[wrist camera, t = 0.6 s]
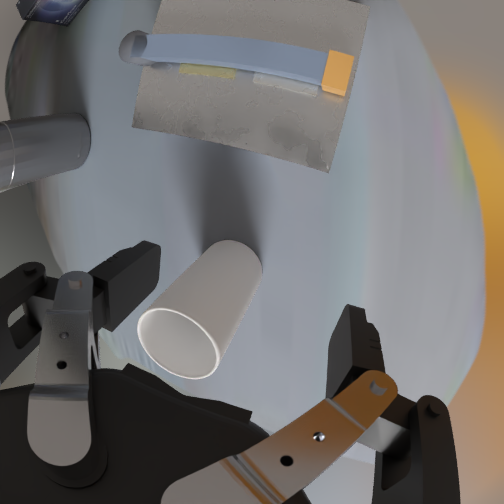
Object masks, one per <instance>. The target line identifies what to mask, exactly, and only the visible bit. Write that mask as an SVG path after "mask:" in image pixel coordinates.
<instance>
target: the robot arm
mask: <svg viewBox="0 0 504 504" xmlns="http://www.w3.org/2000/svg"><path fill="white" fill-rule="evenodd" d="M89 149H90V131H89V127H88V125H87V122H86V121H85V119H84V118H83V117H82V116H81V115H79V114H77V113H69V114H56V115H45V116H36V117H28V118H21V119H14V120H8V121H2V122H0V192H3V191H5V190H8V189H11V188H14V187H17V186H20V185H23V184H26V183H29V182H32V181H35V180H39V179H42V178H45V177H49V176H52V175H55V174H59V173H63V172H66V171H70V170H74V169H77V168H79V167H80V166H81V165H82V164H83V163H84V162H85V160H86V158H87V156H88V153H89ZM160 257H161V247H160V246H159V245H157V244H154V243H151V242H148V241H145V240H144V241H142V242H140V243H139V244H137V245H136V246H134V247H133V248H131V247H130V248H127V249H123V250H120V251H119V252H117V253H116V254H114V255H113V256H112V257H110V258H108V259H107V260H106V261H104V262H102V263H101V264H99V265H98V266H96V267H95V268H93V269H92V270H90V271H89V272H88V273H86V272H83V271H71V272H68V273H65V274H64V275H62V276H61V277H60V278H59V279H57V278H52V277H47V276H46V270H45V266H44V265H43V264H41V263H38V262H28V263H25V264H22V265H20V266H19V267H17V268H16V269H14V270H13V271H11V272H10V273H8V274H7V275H5V276H4V277H2V278H1V279H0V385H1V384H2V383H3V382H4V380H5V379H6V378H7V377H8V376H9V375H10V374H11V373H12V372H13V371H14V370H15V369H16V368H17V367H18V366H19V364H20V363H21V362H22V361H23V360H24V359H25V358H26V357H27V356H28V355H29V354H30V353H31V352H32V351H33V350H34V349H35V348H36V347H37V346H38V345H39V351H38V358H37V366H36V375H35V383H33V384H28V385H24V386H19V387H14V388H9V389H4V390H0V504H311V502H310V500H309V499H308V497H307V495H306V494H305V492H304V490H303V489H304V488H305V487H306V486H308V485H309V484H310V483H311V482H312V481H314V480H315V479H316V478H317V477H319V476H320V475H321V474H322V473H323V472H324V471H325V470H326V469H328V468H329V467H330V466H331V465H332V464H333V463H334V462H335V461H337V460H338V459H339V458H340V457H341V456H342V455H343V454H344V453H345V452H346V451H347V450H348V449H349V448H350V447H351V446H352V445H354V444H355V443H356V442H359V443H361V444H363V445H365V446H367V447H369V448H372V449H374V450H376V457H375V473H374V486H373V497H372V504H460V489H459V478H458V467H457V459H456V451H455V445H454V439H453V432H452V427H451V421H450V417H449V412H448V409H447V407H446V405H445V404H444V403H443V402H442V401H441V400H440V399H438V398H436V397H434V396H431V395H425V396H422V397H421V398H420V399H419V400H418V401H417V402H414V401H411V400H409V399H407V398H405V397H403V396H401V395H399V394H398V388H397V385H396V383H395V382H394V380H393V379H392V378H391V377H390V376H389V375H387V374H386V373H385V367H384V360H383V354H382V351H381V349H382V348H381V343H380V337H379V333H378V331H377V330H376V328H375V327H374V325H373V324H372V323H368V322H367V320H366V314H365V309H363V308H360V307H356V306H353V305H349V304H347V305H346V306H345V308H344V310H343V312H342V314H341V316H340V319H339V321H338V323H337V325H336V327H335V329H334V331H333V333H332V336H331V339H330V342H329V348H328V368H327V384H326V398H325V399H324V400H322V401H321V402H320V403H318V404H317V405H316V406H314V407H313V408H311V409H310V410H309V411H307V412H306V413H304V414H303V415H301V416H300V417H299V418H297V419H296V420H294V421H293V422H291V423H290V424H288V425H287V426H285V427H284V428H282V429H280V430H279V431H277V432H276V433H274V434H273V435H271V436H269V434H268V433H267V432H265V431H264V430H263V429H262V428H261V427H259V426H258V425H256V424H255V423H253V422H251V421H250V418H251V415H252V411H249V410H246V409H243V408H239V407H236V406H233V405H230V404H227V403H224V402H221V401H216V400H210V399H203V398H197V397H191V396H186V395H183V394H181V393H179V392H178V391H176V390H175V389H174V388H172V387H171V386H169V385H168V384H166V383H165V382H164V381H162V380H161V379H160V378H158V377H157V376H155V375H153V374H151V373H149V372H146V371H144V370H142V369H140V368H138V367H135V366H134V365H132V364H129V363H128V364H127V365H126V366H125V368H124V369H123V370H117V369H107V368H103V369H101V367H100V347H99V330H100V329H101V328H102V327H103V328H105V329H107V330H109V331H111V332H113V331H114V330H115V329H116V328H117V327H118V325H119V324H120V323H121V322H122V321H123V320H124V319H125V318H126V317H127V316H128V315H129V314H130V313H131V312H132V311H133V310H134V309H135V308H136V307H137V306H138V305H139V304H140V303H141V302H142V301H143V300H144V299H145V298H146V297H147V296H148V295H149V294H150V293H151V292H152V291H153V290H154V289H155V288H156V286H157V283H158V280H159V270H160ZM21 304H22V306H23V309H24V313H25V314H24V315H23V316H22V317H21V318H20V319H19V320H17V321H16V322H15V323H14V324H13V325H12V326H11V327H8V317H9V315H10V314H11V313H12V312H13V311H14V310H15V309H17V308H18V307H19V306H20V305H21Z"/></svg>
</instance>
